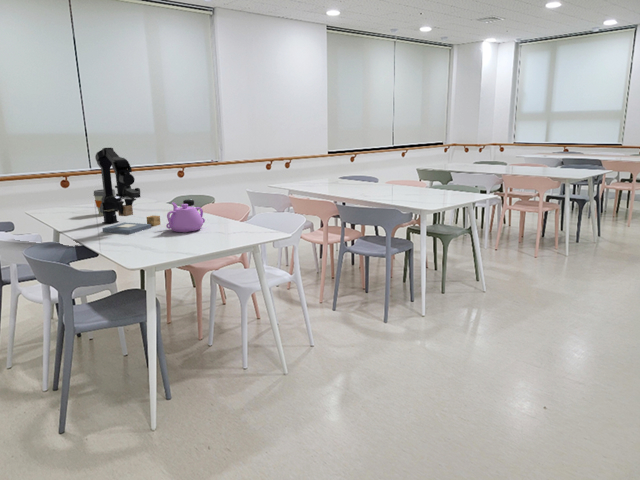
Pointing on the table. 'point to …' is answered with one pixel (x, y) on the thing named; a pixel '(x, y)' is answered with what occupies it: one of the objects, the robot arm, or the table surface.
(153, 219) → the ochre block
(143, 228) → the board
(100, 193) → the reusable coffee cup
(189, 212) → the teapot
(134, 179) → the robot arm
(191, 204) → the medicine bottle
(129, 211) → the walnut block
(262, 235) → the table surface
